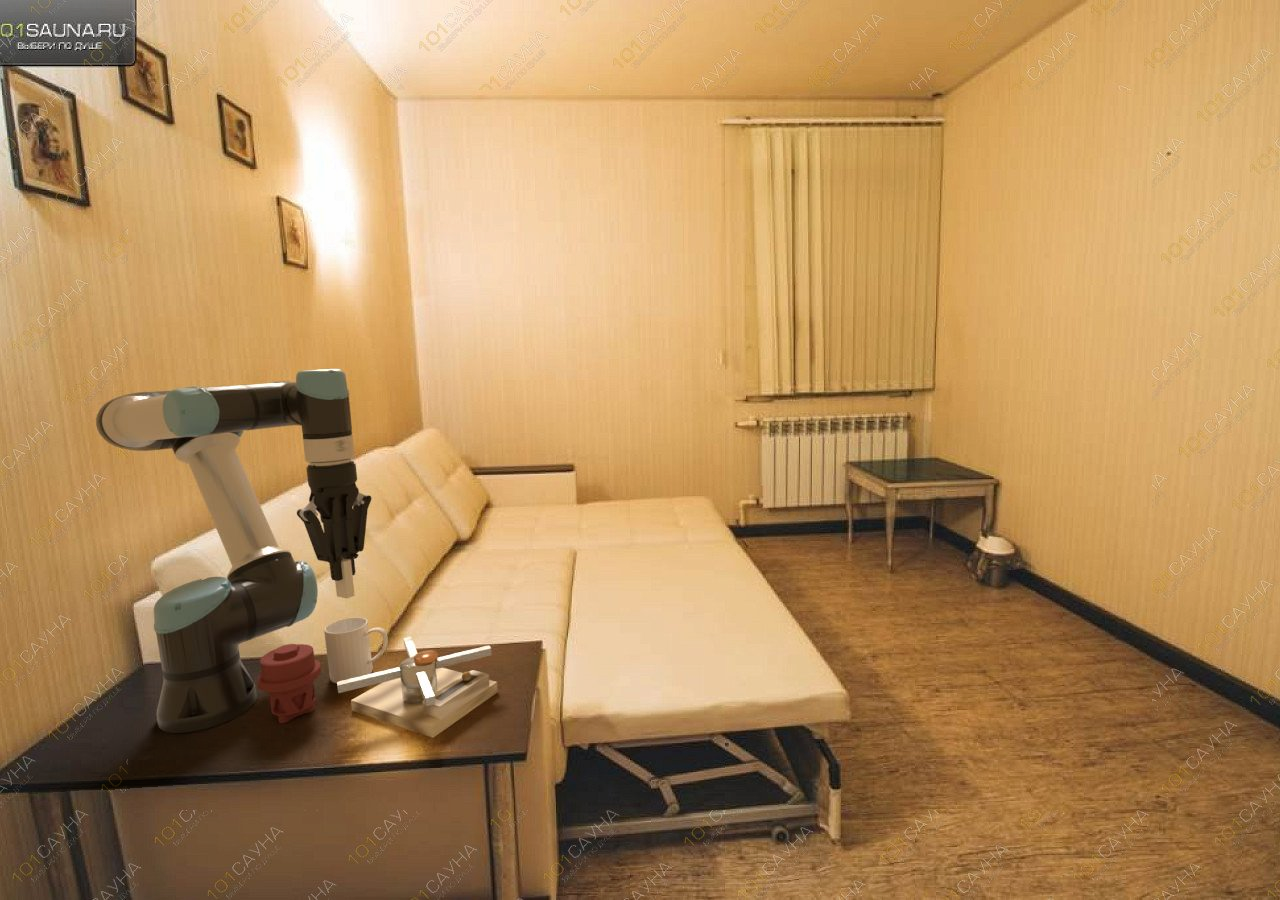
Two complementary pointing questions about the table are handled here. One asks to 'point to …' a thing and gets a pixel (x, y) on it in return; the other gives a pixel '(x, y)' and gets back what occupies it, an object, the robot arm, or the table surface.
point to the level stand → (450, 701)
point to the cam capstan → (415, 672)
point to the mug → (350, 648)
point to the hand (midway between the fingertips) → (345, 595)
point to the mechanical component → (289, 680)
